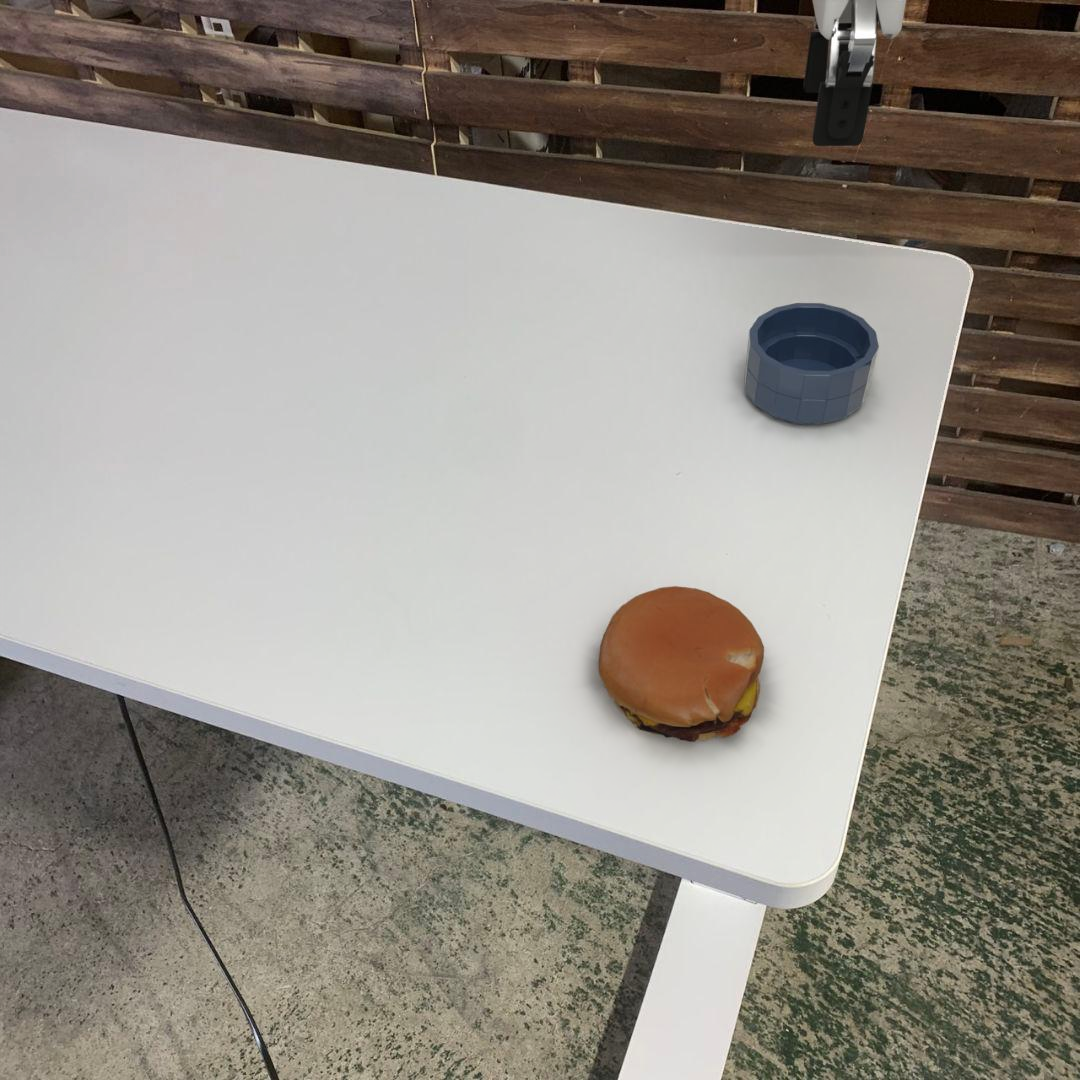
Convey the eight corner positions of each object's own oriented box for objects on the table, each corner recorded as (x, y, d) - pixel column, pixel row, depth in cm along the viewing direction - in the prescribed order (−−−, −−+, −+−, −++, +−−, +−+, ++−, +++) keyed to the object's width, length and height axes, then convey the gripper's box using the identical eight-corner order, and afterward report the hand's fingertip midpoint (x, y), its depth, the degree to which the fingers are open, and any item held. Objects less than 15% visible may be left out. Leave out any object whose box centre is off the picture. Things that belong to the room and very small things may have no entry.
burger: (602, 615, 61) (602, 566, 58) (753, 620, 60) (761, 570, 57) (595, 753, 55) (594, 706, 51) (764, 761, 54) (774, 714, 50)
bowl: (858, 357, 78) (870, 303, 74) (872, 431, 72) (885, 376, 68) (742, 355, 79) (748, 301, 75) (745, 428, 73) (751, 373, 69)
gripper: (978, -161, 49) (903, 175, 61) (924, -227, 61) (871, 66, 73) (824, -154, 50) (782, 175, 62) (801, -220, 61) (770, 68, 74)
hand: (830, 115), depth 68 cm, fingers open, 7 cm apart
